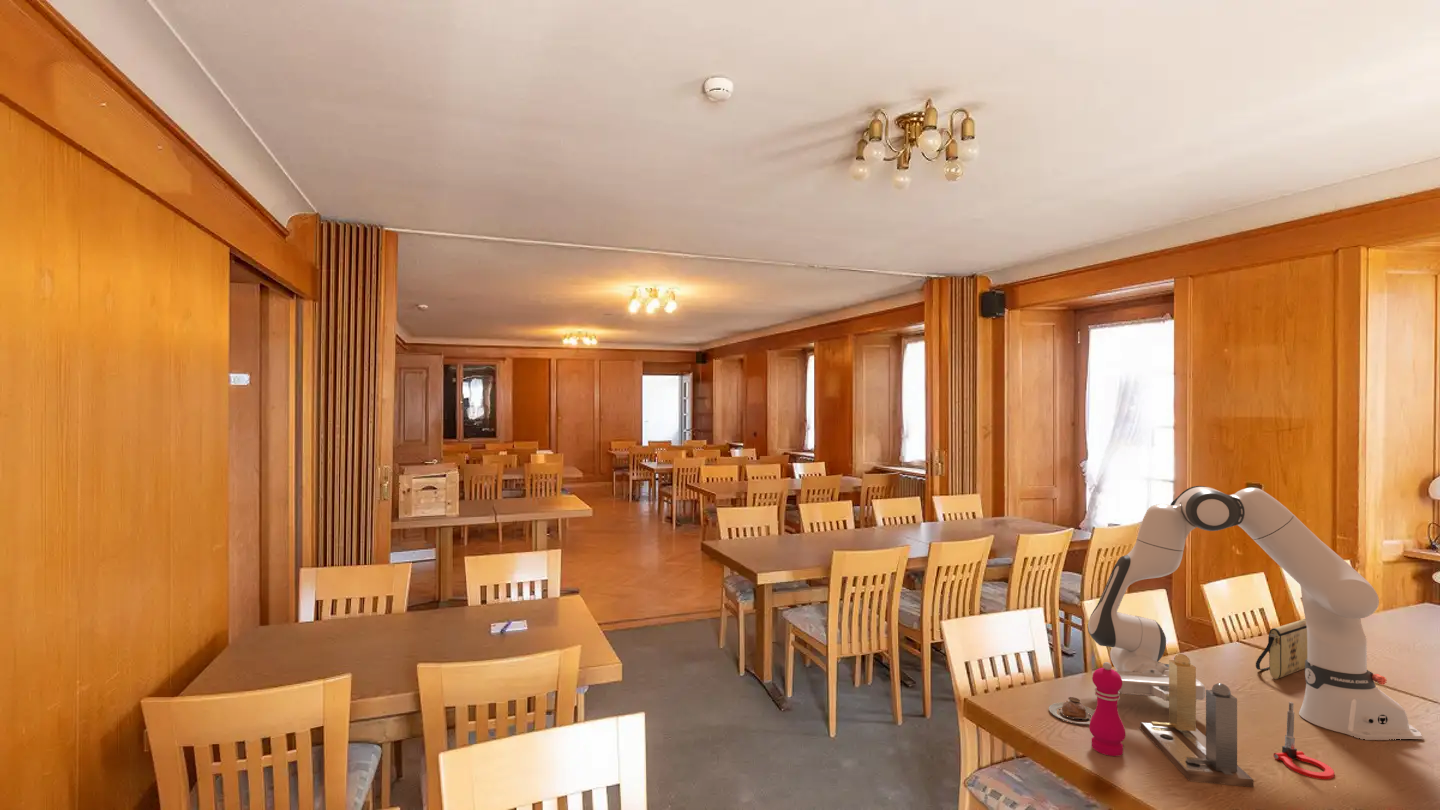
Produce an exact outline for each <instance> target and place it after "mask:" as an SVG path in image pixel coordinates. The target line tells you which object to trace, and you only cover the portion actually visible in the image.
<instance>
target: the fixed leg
mask: <svg viewBox="0 0 1440 810" xmlns="http://www.w3.org/2000/svg"><path fill="white" fill-rule="evenodd" d="M1231 692H1232V691H1231V690H1230V688H1229V687H1228V686H1227V685H1226V684H1224V683H1221V682H1219V683H1215V684H1213V685H1212V687H1211V689H1205V736H1206V759H1204V758H1193V757H1186V761H1187V762H1188V763H1194V764H1205V765H1211V766H1212V767H1213V768H1214V769H1215V770H1216V771H1224V772H1235V773H1237V765H1238V698H1237V697H1236V696H1234V695H1232V694H1231Z"/></svg>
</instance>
